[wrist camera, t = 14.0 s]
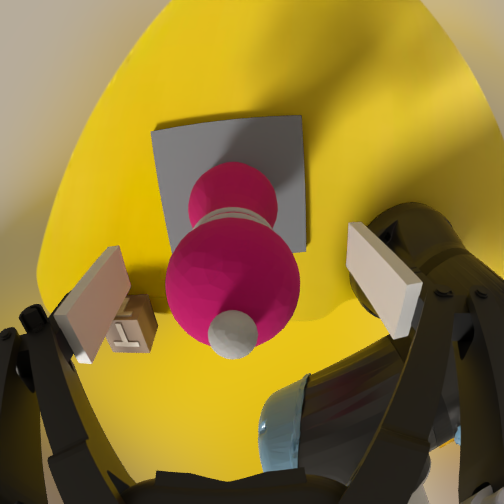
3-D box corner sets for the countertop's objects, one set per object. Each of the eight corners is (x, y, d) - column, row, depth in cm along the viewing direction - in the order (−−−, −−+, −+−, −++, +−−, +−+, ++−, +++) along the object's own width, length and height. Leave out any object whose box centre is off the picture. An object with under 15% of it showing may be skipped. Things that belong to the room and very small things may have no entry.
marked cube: (147, 292, 32) (136, 319, 28) (158, 325, 35) (149, 353, 30) (112, 294, 32) (97, 319, 28) (124, 326, 35) (112, 352, 30)
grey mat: (299, 115, 25) (301, 115, 24) (304, 248, 31) (305, 251, 30) (153, 131, 25) (150, 131, 24) (176, 261, 31) (174, 264, 30)
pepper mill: (202, 150, 25) (124, 233, 7) (278, 164, 26) (374, 276, 8) (190, 221, 28) (133, 393, 10) (261, 234, 29) (299, 412, 11)
